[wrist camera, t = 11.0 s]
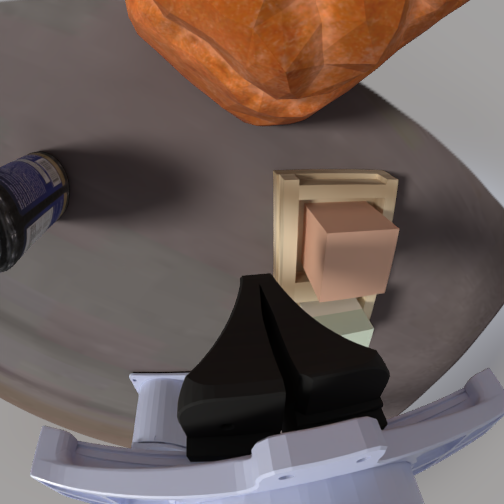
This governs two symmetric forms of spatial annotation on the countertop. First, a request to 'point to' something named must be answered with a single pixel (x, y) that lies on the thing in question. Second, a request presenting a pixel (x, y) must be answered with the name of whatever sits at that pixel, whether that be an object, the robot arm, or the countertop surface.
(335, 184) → the socket board
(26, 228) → the pill bottle
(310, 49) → the bread
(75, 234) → the countertop surface
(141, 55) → the countertop surface
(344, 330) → the two tone brick
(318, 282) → the terracotta brick
